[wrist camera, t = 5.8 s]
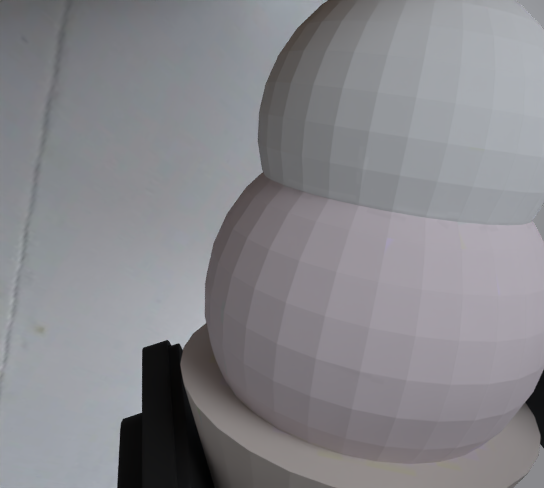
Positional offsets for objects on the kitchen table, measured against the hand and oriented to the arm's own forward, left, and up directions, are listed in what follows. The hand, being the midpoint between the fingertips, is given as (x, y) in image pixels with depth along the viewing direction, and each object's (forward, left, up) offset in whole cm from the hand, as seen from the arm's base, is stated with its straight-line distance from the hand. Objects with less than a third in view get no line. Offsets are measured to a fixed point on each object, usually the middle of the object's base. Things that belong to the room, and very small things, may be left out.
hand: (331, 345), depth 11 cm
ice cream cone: (0, 0, -1) cm, 1 cm away
